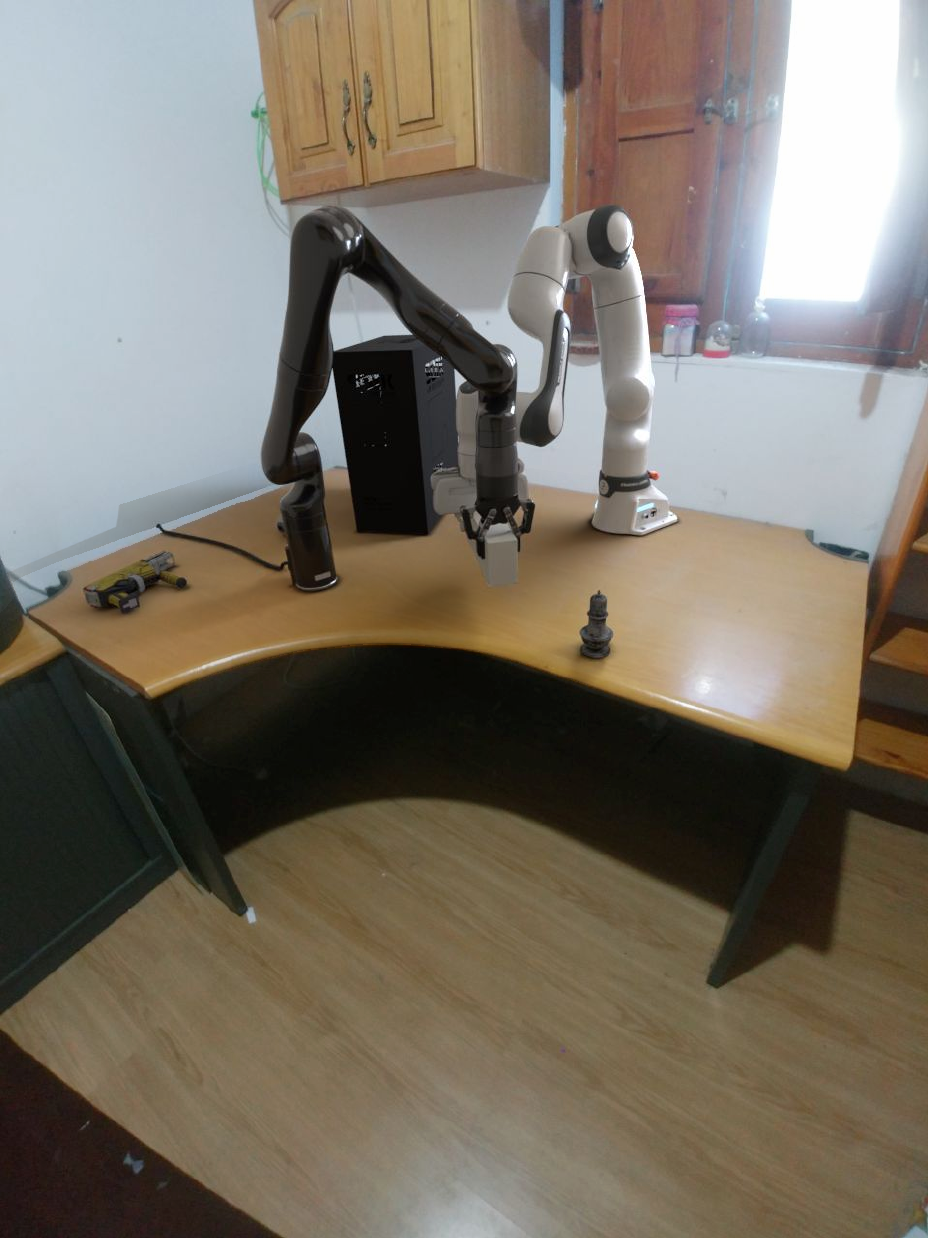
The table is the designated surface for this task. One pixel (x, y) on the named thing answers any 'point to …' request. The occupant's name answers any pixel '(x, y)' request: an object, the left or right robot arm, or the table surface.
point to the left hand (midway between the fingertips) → (498, 555)
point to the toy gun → (131, 583)
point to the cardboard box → (395, 430)
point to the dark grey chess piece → (596, 628)
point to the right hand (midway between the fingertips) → (482, 528)
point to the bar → (497, 553)
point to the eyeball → (280, 524)
